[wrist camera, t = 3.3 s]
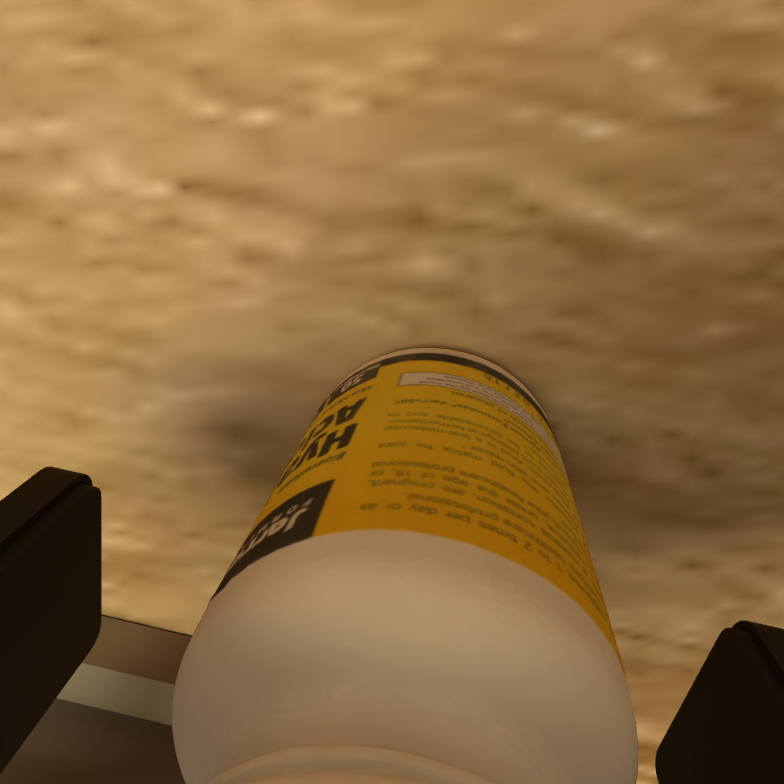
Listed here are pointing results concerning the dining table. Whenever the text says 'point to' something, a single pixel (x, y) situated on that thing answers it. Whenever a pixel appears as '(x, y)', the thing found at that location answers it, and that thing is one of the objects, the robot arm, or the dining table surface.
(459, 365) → the supplement bottle
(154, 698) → the collar board
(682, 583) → the dining table surface
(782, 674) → the robot arm
